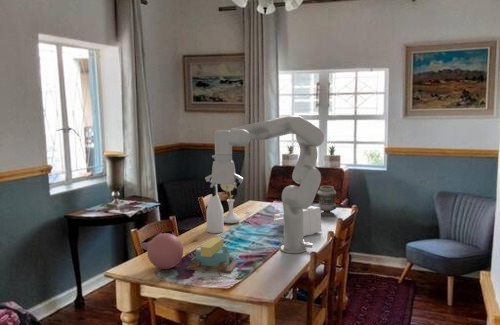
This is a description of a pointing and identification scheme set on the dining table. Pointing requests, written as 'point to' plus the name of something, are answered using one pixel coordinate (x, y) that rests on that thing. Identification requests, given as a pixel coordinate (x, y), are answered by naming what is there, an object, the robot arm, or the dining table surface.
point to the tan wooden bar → (211, 247)
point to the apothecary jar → (327, 200)
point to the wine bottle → (215, 214)
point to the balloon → (164, 250)
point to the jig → (222, 266)
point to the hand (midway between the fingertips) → (224, 196)
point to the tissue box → (306, 220)
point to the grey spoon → (230, 216)
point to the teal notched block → (213, 257)
